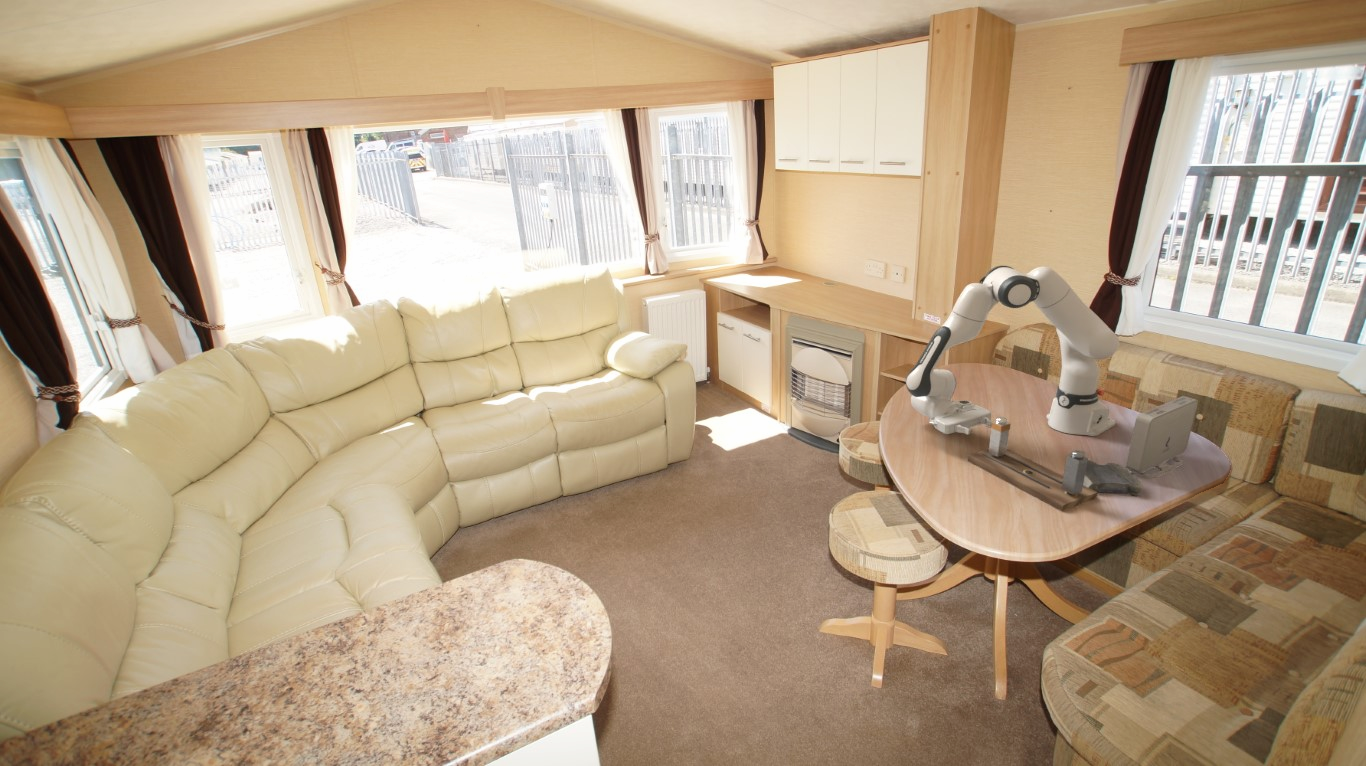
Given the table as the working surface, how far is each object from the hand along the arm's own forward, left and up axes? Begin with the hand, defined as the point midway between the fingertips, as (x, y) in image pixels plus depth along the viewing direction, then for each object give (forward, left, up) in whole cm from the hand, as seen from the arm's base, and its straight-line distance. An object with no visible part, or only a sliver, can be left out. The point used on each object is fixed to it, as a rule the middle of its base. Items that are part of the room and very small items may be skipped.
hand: (981, 428), depth 208 cm
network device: (-39, +32, -9) cm, 51 cm away
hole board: (0, +19, -9) cm, 21 cm away
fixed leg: (0, +33, -7) cm, 34 cm away
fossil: (-17, +31, -10) cm, 37 cm away
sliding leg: (0, +7, -7) cm, 10 cm away
